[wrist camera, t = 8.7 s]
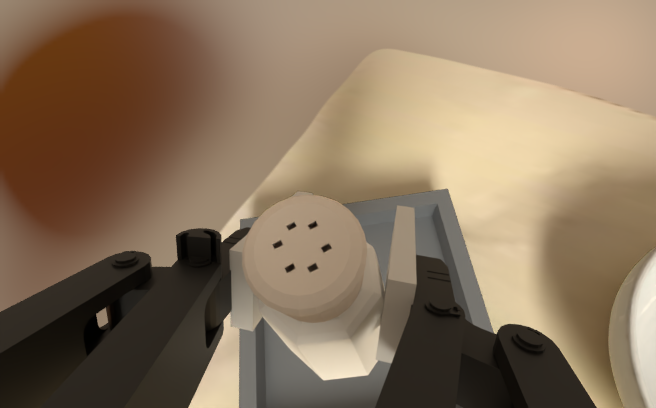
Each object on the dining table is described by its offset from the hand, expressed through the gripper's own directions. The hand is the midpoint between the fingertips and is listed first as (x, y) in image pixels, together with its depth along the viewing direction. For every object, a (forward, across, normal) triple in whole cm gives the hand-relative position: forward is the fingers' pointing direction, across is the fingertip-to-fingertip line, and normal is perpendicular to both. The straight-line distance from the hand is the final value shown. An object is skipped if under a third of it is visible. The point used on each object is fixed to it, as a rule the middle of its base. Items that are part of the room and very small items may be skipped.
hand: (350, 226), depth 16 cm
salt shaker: (0, 0, -5) cm, 5 cm away
